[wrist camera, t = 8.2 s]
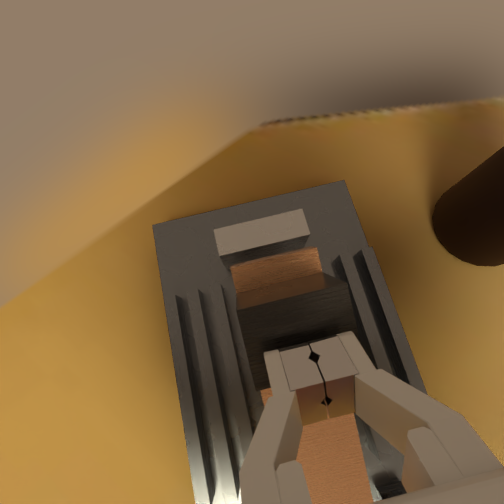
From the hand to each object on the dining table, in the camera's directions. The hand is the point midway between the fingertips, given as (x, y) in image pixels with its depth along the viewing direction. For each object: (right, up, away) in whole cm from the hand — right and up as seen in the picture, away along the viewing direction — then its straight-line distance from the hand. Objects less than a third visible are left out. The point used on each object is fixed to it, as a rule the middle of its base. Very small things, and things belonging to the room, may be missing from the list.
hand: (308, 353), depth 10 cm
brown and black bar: (+3, -11, +3) cm, 12 cm away
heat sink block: (+1, -4, +11) cm, 11 cm away
